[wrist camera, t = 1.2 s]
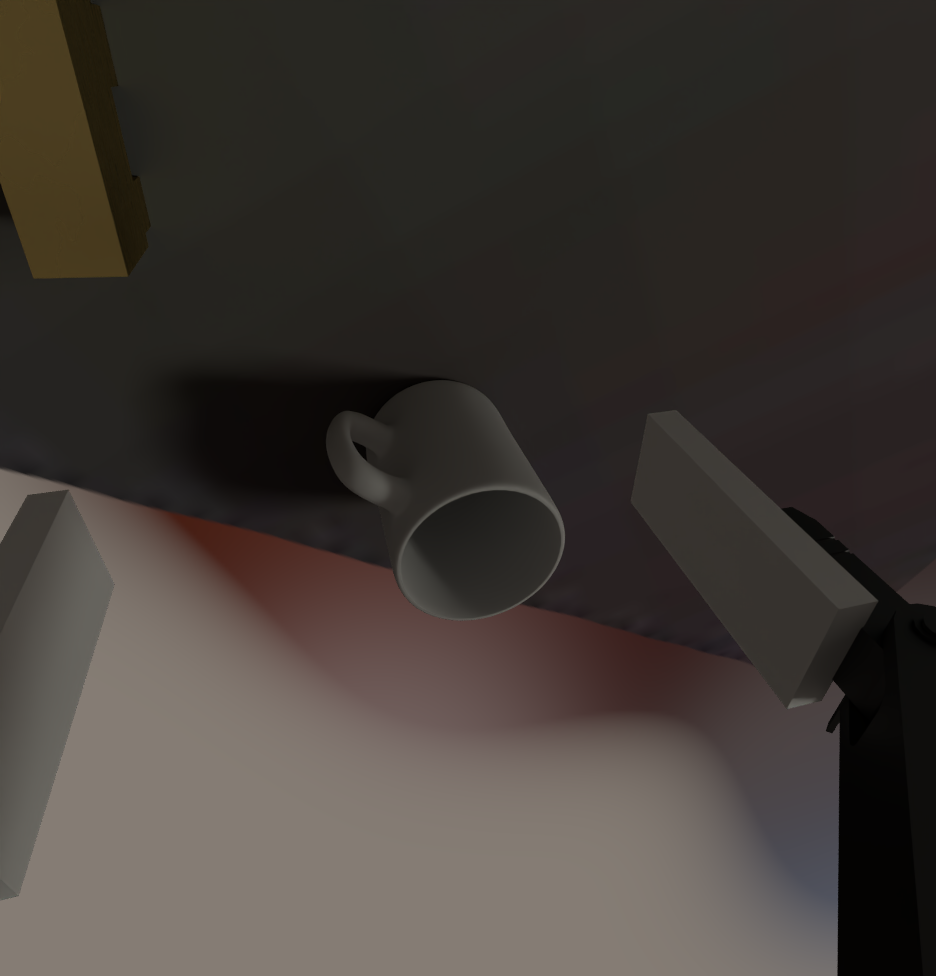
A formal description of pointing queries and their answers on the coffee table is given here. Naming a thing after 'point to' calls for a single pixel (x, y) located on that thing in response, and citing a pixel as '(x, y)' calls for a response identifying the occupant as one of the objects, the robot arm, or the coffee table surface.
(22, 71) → the yellow rectangular block
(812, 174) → the coffee table surface
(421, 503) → the mug
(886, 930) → the robot arm
